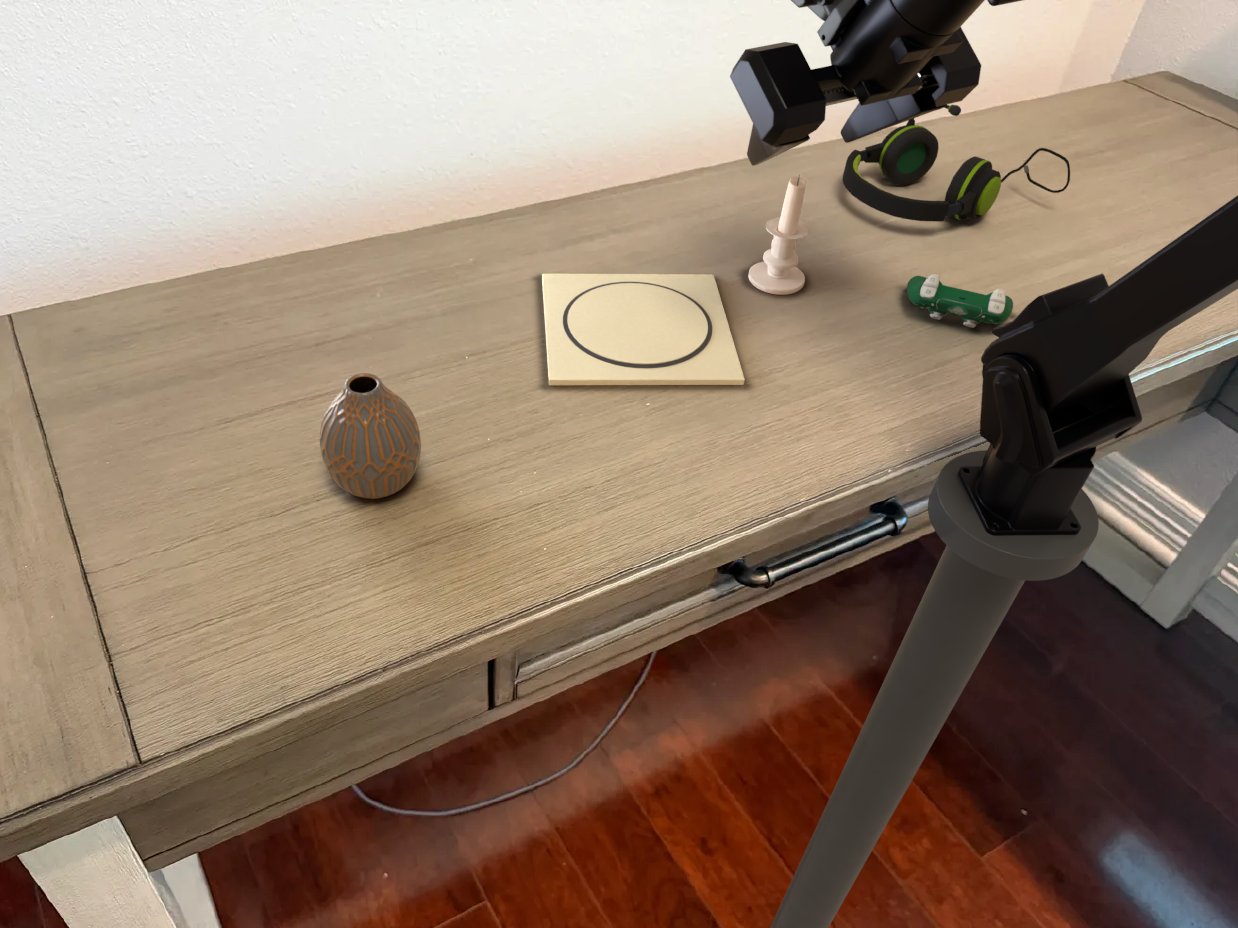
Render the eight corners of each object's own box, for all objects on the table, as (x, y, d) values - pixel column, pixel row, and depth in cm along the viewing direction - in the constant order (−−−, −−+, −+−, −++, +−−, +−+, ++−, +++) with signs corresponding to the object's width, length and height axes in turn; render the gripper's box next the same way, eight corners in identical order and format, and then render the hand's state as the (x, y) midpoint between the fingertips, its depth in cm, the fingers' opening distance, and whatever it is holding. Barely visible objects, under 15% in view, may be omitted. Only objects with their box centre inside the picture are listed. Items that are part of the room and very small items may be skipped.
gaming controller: (897, 316, 91) (903, 301, 86) (909, 277, 91) (916, 259, 85) (999, 341, 89) (1012, 327, 83) (1012, 301, 89) (1026, 284, 83)
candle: (812, 292, 91) (839, 187, 83) (759, 297, 90) (781, 191, 82) (791, 263, 94) (815, 159, 87) (740, 267, 93) (760, 163, 86)
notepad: (743, 385, 80) (745, 377, 80) (549, 385, 79) (549, 377, 79) (712, 279, 92) (714, 272, 91) (541, 279, 91) (542, 271, 90)
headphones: (1095, 125, 96) (953, 167, 88) (1056, 215, 103) (921, 262, 95) (970, 68, 105) (832, 102, 98) (942, 154, 112) (811, 192, 104)
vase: (310, 472, 71) (291, 375, 65) (392, 436, 74) (382, 340, 68) (356, 527, 67) (341, 430, 61) (442, 487, 70) (435, 391, 64)
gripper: (974, -121, 66) (845, 43, 80) (752, -93, 59) (655, 80, 74) (1051, 17, 64) (905, 159, 79) (832, 62, 58) (717, 208, 72)
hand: (798, 148), depth 76 cm, fingers open, 9 cm apart
